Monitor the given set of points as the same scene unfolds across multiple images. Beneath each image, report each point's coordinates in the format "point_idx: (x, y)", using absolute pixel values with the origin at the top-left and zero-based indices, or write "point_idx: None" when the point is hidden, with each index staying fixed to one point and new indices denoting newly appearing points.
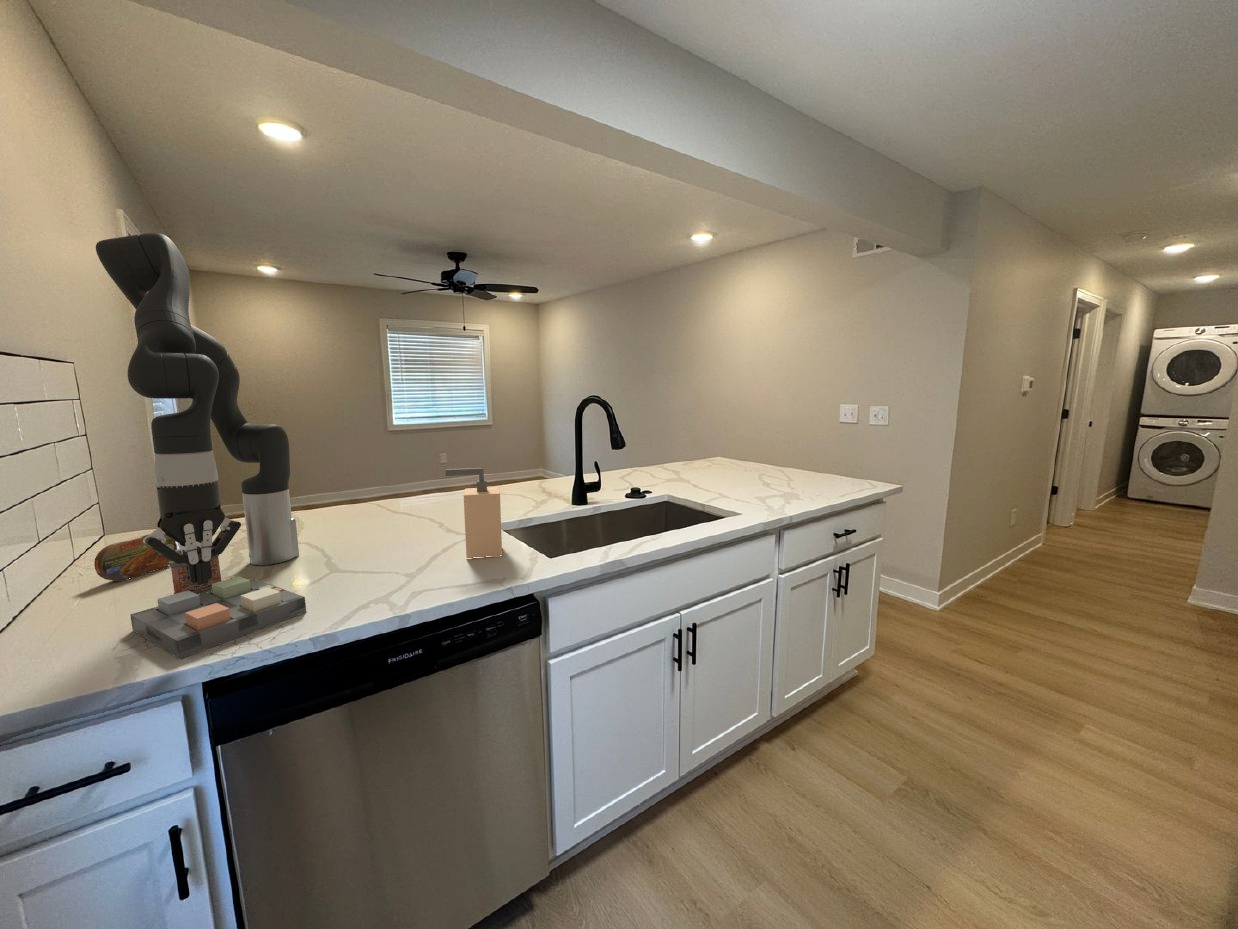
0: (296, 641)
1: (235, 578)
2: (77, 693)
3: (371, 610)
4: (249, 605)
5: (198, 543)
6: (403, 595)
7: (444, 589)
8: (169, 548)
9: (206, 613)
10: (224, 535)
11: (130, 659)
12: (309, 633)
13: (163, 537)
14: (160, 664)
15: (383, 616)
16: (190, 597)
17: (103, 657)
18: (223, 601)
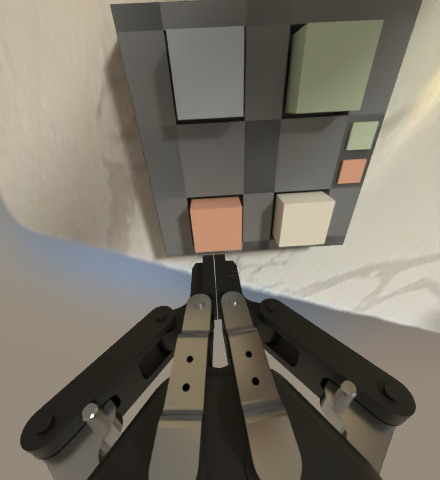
0: (265, 292)
1: (365, 39)
2: (74, 237)
3: (357, 285)
4: (277, 226)
5: (229, 362)
6: (410, 278)
7: (435, 298)
8: (137, 396)
9: (211, 243)
10: (307, 382)
11: (122, 187)
12: (284, 286)
13: (110, 444)
14: (151, 236)
15: (346, 305)
16: (225, 115)
17: (86, 141)
18: (274, 139)
